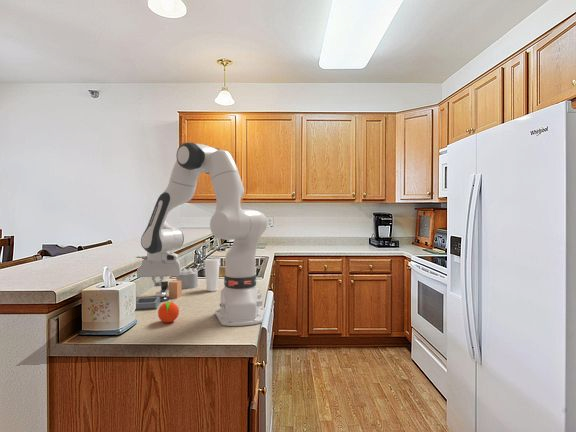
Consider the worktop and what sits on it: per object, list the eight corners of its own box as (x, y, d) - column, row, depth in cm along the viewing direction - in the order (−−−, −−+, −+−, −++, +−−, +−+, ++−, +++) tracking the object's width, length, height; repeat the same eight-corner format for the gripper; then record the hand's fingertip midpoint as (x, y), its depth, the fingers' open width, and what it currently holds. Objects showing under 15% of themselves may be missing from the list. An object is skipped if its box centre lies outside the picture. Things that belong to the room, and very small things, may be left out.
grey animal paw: (176, 289, 169) (176, 271, 169) (176, 283, 182) (176, 267, 181) (198, 287, 172) (198, 270, 172) (197, 282, 184) (197, 266, 184)
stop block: (177, 298, 152) (177, 282, 152) (168, 298, 153) (168, 282, 152) (181, 296, 156) (181, 280, 156) (173, 295, 157) (173, 280, 156)
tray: (155, 309, 136) (155, 302, 136) (131, 310, 134) (131, 303, 134) (160, 302, 145) (160, 297, 144) (137, 304, 143) (137, 298, 143)
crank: (165, 297, 147) (165, 287, 147) (154, 298, 146) (154, 287, 146) (170, 290, 160) (170, 281, 159) (160, 291, 159) (160, 281, 159)
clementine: (178, 325, 117) (178, 304, 117) (156, 327, 115) (156, 306, 115) (179, 318, 125) (179, 298, 124) (159, 319, 123) (158, 299, 123)
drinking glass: (213, 288, 171) (213, 257, 171) (222, 290, 167) (222, 259, 166) (202, 290, 166) (201, 259, 166) (211, 292, 162) (210, 260, 161)
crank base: (167, 301, 146) (167, 298, 146) (152, 302, 145) (152, 299, 145) (169, 298, 152) (169, 295, 152) (155, 298, 151) (155, 296, 151)
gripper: (131, 257, 151) (131, 289, 152) (180, 256, 156) (180, 286, 156) (134, 255, 158) (134, 285, 158) (181, 254, 162) (181, 283, 162)
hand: (157, 286), depth 157 cm, fingers closed
